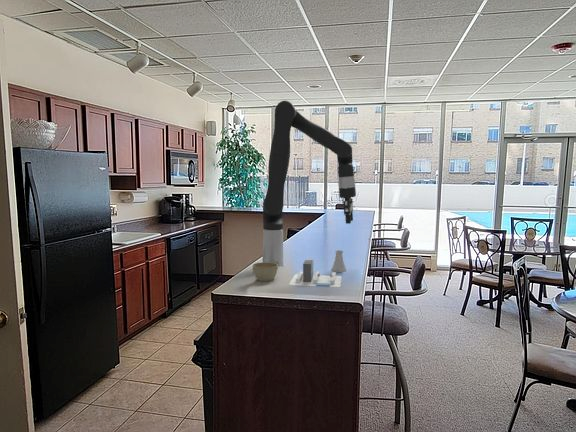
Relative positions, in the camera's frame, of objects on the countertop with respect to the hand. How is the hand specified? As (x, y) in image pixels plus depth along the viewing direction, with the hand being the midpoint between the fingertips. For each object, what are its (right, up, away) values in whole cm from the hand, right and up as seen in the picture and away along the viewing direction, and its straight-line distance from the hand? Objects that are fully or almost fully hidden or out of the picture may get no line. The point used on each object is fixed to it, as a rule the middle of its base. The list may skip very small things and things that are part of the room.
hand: (349, 222), depth 180 cm
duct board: (-17, -24, -27) cm, 40 cm away
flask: (-6, -22, -11) cm, 26 cm away
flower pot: (-37, -24, -25) cm, 51 cm away
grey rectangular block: (-20, -22, -26) cm, 39 cm away
